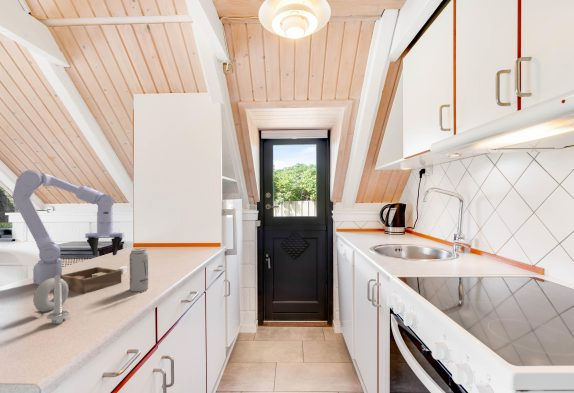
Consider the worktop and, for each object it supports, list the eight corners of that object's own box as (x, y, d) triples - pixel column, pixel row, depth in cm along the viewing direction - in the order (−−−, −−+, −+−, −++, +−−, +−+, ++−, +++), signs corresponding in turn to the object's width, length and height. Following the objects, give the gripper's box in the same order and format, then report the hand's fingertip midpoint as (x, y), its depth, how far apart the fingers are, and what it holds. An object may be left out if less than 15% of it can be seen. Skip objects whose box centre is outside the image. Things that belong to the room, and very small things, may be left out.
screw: (44, 327, 80) (49, 320, 85) (66, 324, 82) (70, 317, 87) (43, 277, 80) (49, 273, 85) (65, 275, 82) (70, 271, 87)
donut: (40, 318, 86) (39, 283, 86) (30, 317, 87) (29, 282, 87) (71, 305, 96) (71, 274, 96) (62, 305, 97) (62, 273, 96)
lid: (95, 281, 124) (95, 272, 124) (111, 272, 139) (111, 264, 139) (135, 280, 126) (134, 271, 126) (146, 271, 141) (146, 262, 141)
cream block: (91, 283, 117) (91, 274, 117) (102, 281, 120) (101, 272, 120) (98, 285, 115) (98, 275, 115) (108, 282, 119) (108, 273, 119)
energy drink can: (144, 293, 107) (144, 250, 107) (126, 294, 107) (126, 251, 107) (151, 288, 113) (150, 247, 113) (134, 288, 113) (133, 248, 113)
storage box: (59, 290, 111) (59, 275, 111) (97, 280, 124) (97, 267, 124) (84, 295, 105) (84, 279, 105) (121, 284, 118) (121, 270, 118)
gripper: (81, 223, 124) (81, 257, 124) (119, 223, 126) (119, 256, 126) (90, 222, 131) (90, 254, 131) (126, 222, 133) (126, 253, 133)
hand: (105, 255), depth 129 cm, fingers open, 7 cm apart
